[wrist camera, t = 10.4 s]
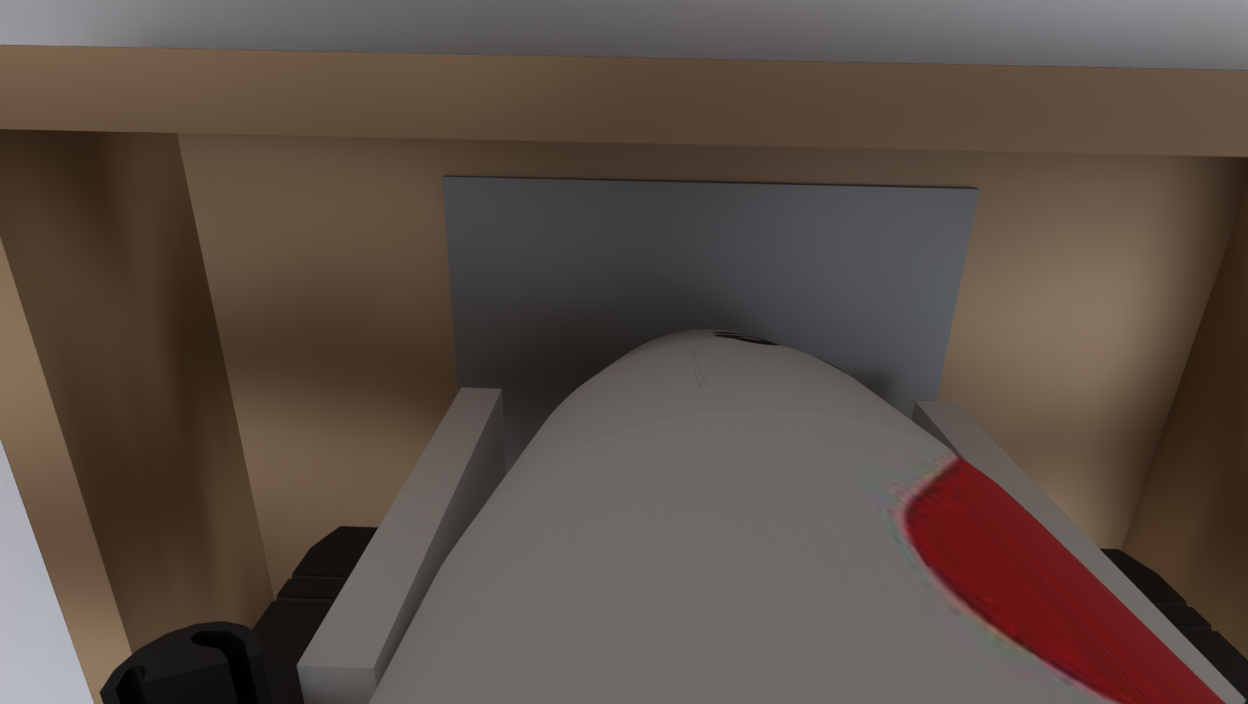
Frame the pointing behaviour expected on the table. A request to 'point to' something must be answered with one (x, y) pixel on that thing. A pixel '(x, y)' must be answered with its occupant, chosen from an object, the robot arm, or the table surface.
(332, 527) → the wooden box
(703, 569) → the cup
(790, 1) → the table surface
